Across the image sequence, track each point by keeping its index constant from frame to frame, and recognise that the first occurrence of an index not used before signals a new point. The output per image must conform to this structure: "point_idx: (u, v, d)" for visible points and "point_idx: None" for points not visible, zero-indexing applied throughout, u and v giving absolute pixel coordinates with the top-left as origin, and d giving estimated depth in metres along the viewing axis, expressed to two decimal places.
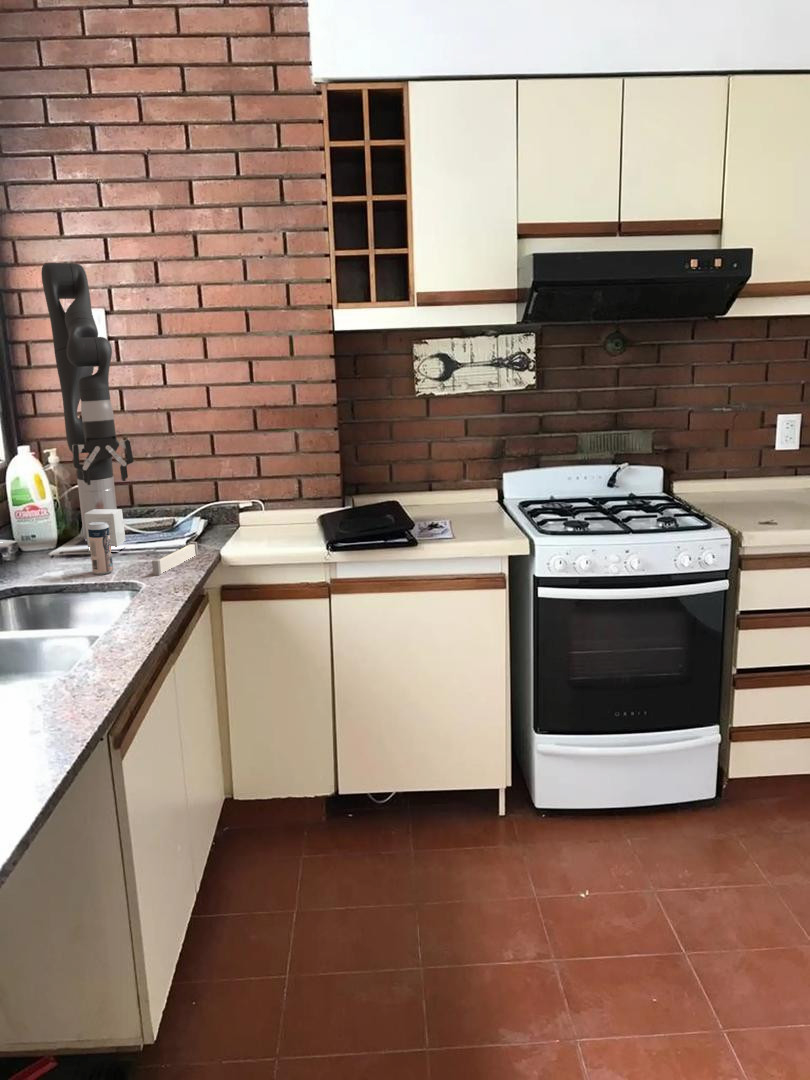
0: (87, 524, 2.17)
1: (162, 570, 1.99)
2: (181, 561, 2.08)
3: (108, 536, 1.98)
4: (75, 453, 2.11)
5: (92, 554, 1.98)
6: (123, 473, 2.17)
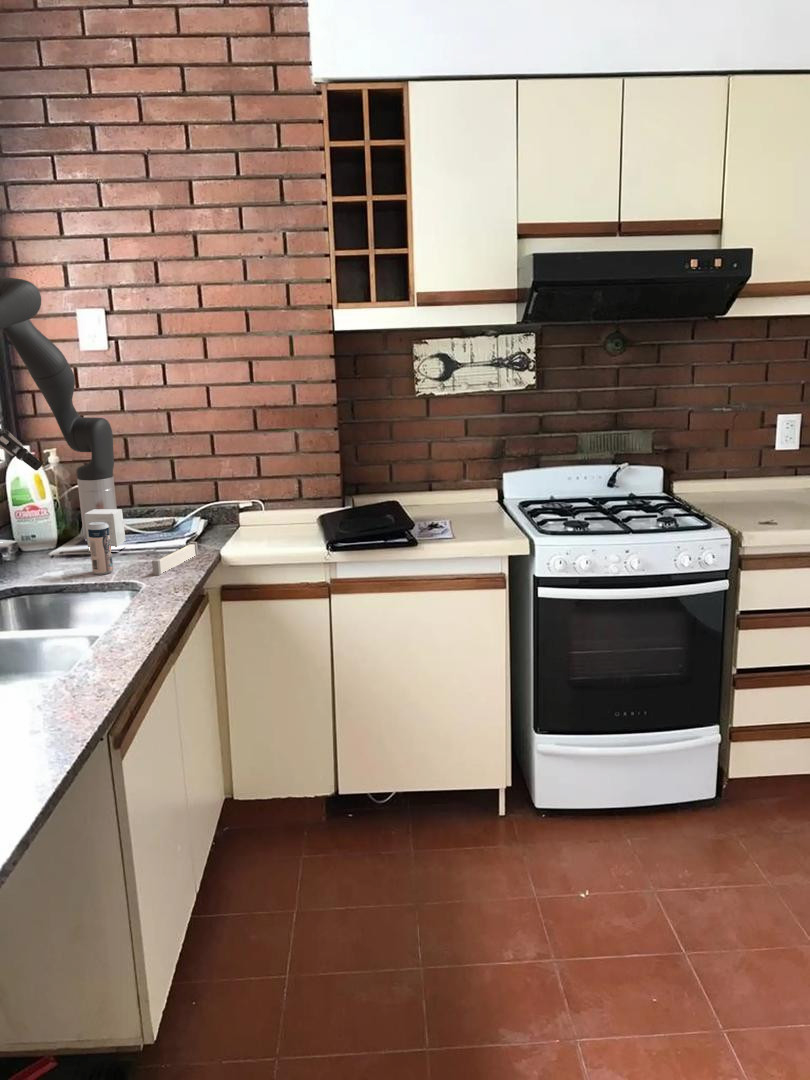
0: (87, 524, 2.17)
1: (162, 570, 1.99)
2: (181, 561, 2.08)
3: (108, 536, 1.98)
4: None
5: (92, 554, 1.98)
6: None
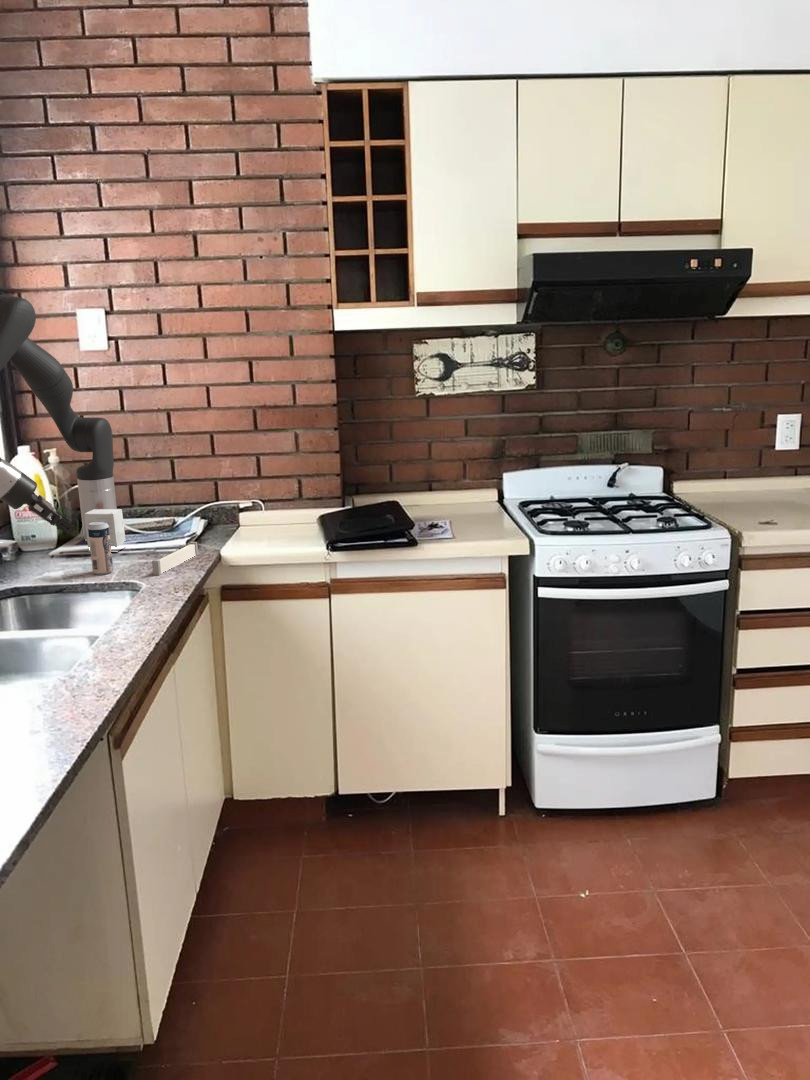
0: (87, 524, 2.17)
1: (162, 570, 1.99)
2: (181, 561, 2.08)
3: (108, 536, 1.98)
4: None
5: (92, 554, 1.98)
6: (61, 529, 1.90)
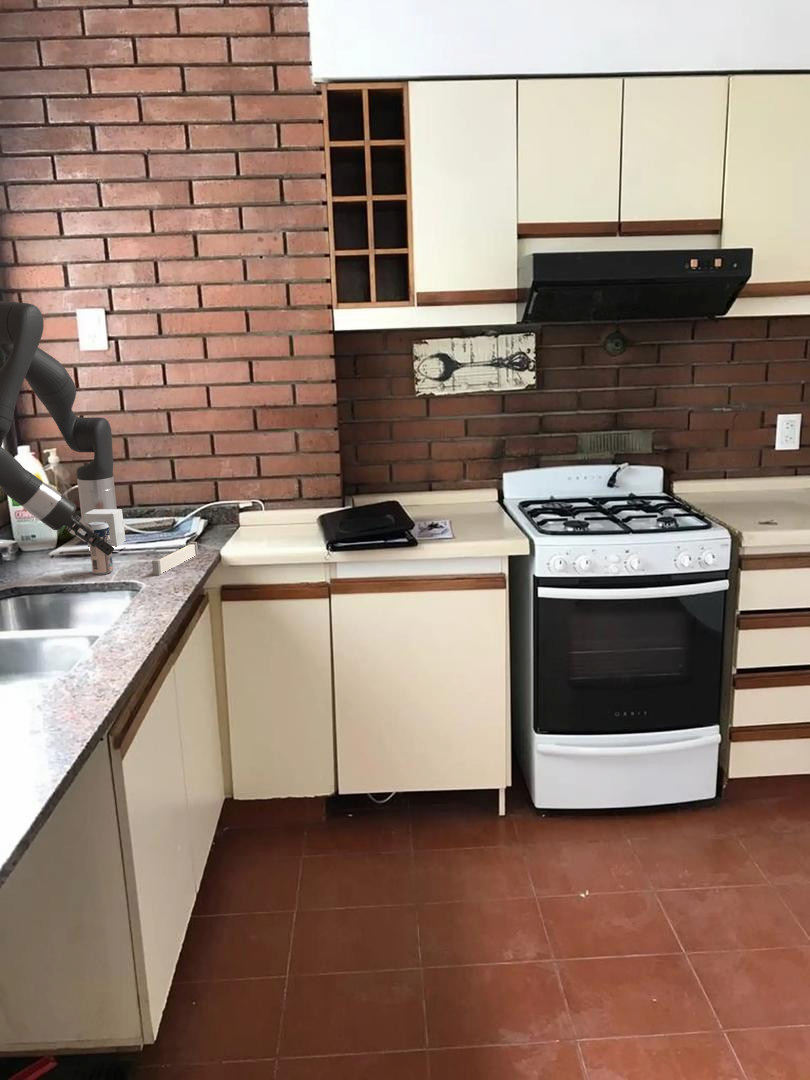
0: None
1: (162, 570, 1.99)
2: (181, 561, 2.08)
3: (108, 536, 1.98)
4: None
5: (92, 554, 1.98)
6: (101, 550, 1.97)
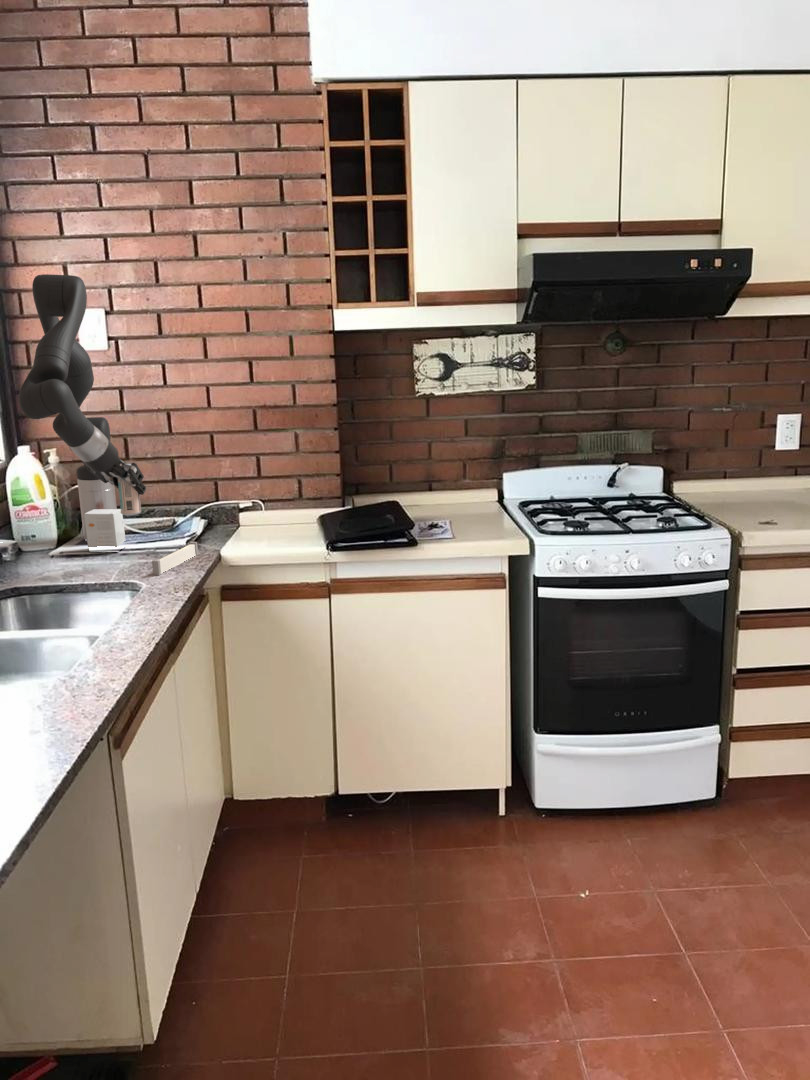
0: (87, 524, 2.17)
1: (162, 570, 1.99)
2: (181, 561, 2.08)
3: None
4: (94, 474, 2.00)
5: (126, 495, 2.01)
6: (137, 490, 2.01)
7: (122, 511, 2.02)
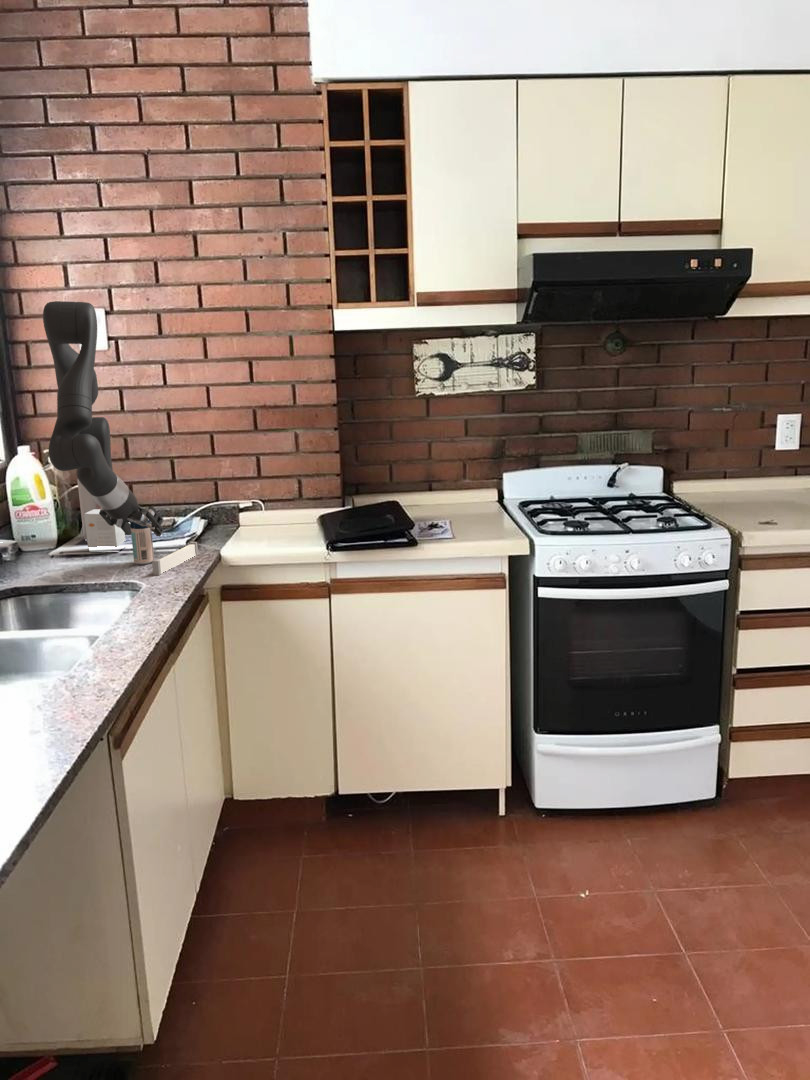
0: (87, 524, 2.17)
1: (162, 570, 1.99)
2: (181, 561, 2.08)
3: None
4: (104, 517, 2.03)
5: (141, 545, 2.05)
6: (155, 532, 2.05)
7: (136, 560, 2.07)
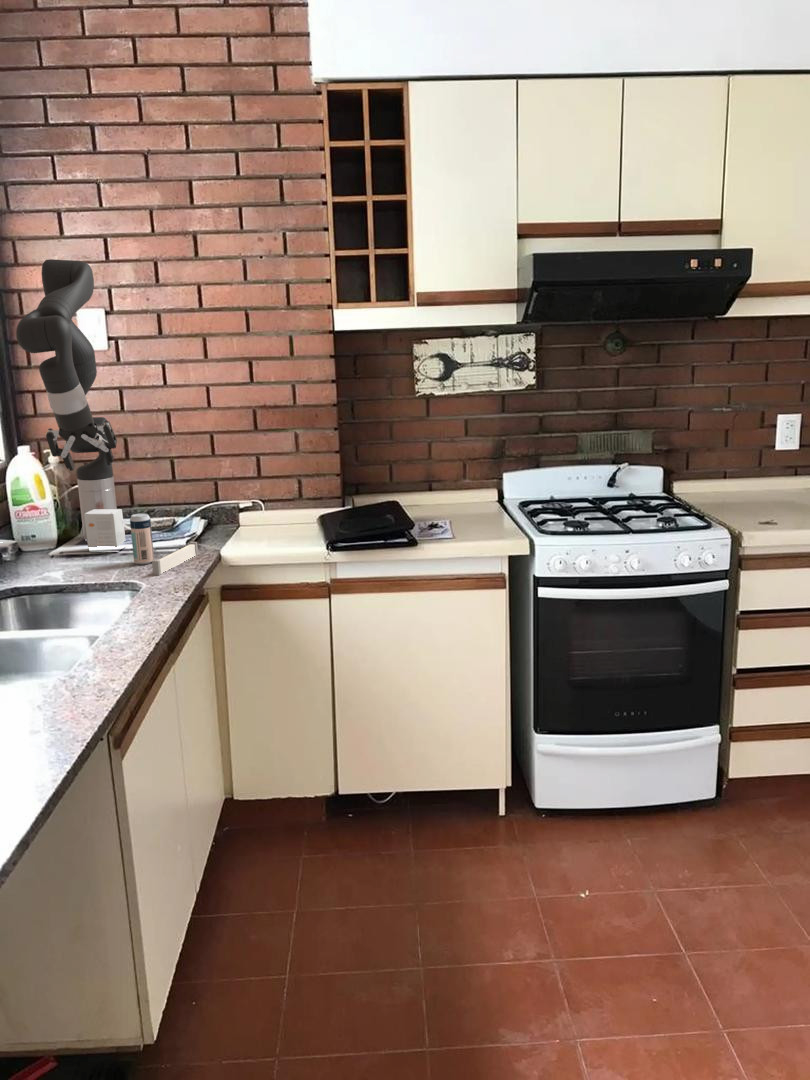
0: (87, 524, 2.17)
1: (162, 570, 1.99)
2: (181, 561, 2.08)
3: None
4: (50, 442, 1.89)
5: (141, 545, 2.05)
6: (107, 458, 1.94)
7: (136, 560, 2.07)
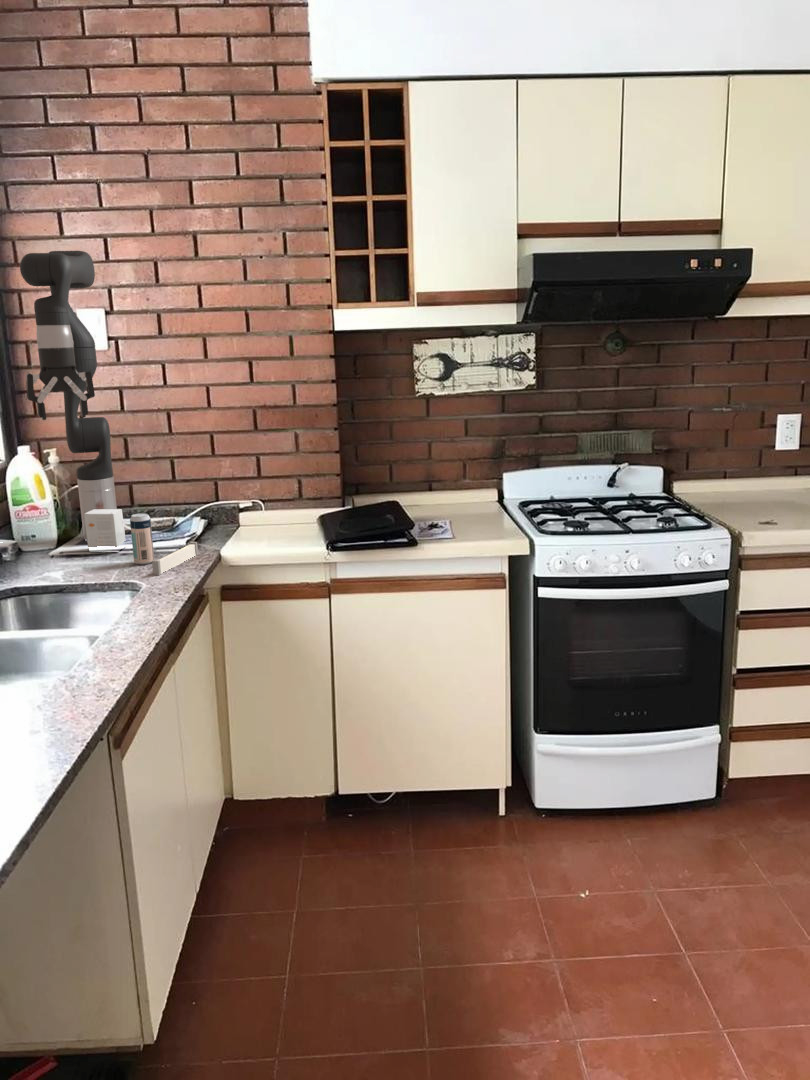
0: (87, 524, 2.17)
1: (162, 570, 1.99)
2: (181, 561, 2.08)
3: None
4: (29, 383, 1.89)
5: (141, 545, 2.05)
6: (83, 408, 1.96)
7: (136, 560, 2.07)
